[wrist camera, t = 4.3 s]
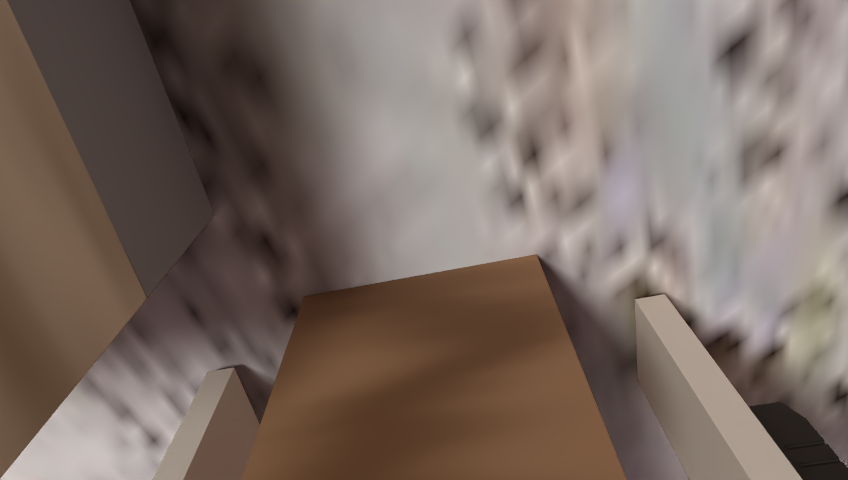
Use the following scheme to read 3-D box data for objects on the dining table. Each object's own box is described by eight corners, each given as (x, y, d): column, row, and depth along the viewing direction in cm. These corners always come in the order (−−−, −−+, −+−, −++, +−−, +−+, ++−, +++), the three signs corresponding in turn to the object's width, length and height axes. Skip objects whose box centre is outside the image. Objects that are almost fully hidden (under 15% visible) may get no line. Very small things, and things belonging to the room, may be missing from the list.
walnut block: (536, 253, 14) (633, 496, 8) (558, 428, 16) (644, 715, 10) (304, 295, 14) (214, 555, 8) (362, 458, 17) (329, 749, 11)
